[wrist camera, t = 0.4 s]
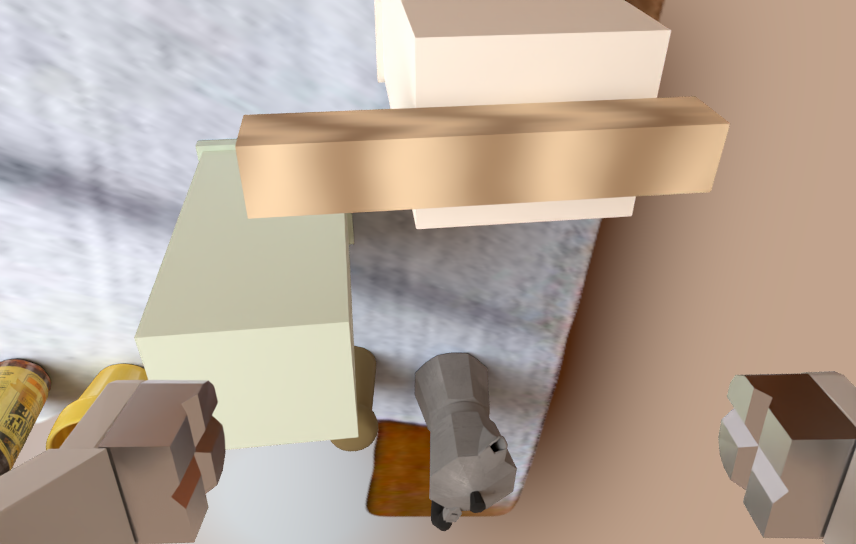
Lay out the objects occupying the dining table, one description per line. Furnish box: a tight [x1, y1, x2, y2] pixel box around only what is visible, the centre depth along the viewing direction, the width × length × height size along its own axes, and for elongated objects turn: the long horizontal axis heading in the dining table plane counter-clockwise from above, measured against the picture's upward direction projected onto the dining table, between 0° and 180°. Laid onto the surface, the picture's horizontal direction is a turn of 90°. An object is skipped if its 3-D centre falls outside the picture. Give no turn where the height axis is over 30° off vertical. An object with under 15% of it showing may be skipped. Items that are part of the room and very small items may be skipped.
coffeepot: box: [415, 353, 517, 531], centre depth 72 cm, size 15×9×18 cm, turn 156°
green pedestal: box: [134, 139, 358, 450], centre depth 51 cm, size 13×11×26 cm
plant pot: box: [46, 364, 148, 450], centre depth 69 cm, size 10×10×10 cm
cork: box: [331, 346, 378, 451], centre depth 71 cm, size 6×6×11 cm
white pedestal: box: [374, 0, 671, 229], centre depth 43 cm, size 13×11×26 cm
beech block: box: [235, 96, 730, 219], centre depth 31 cm, size 22×4×4 cm, turn 90°
